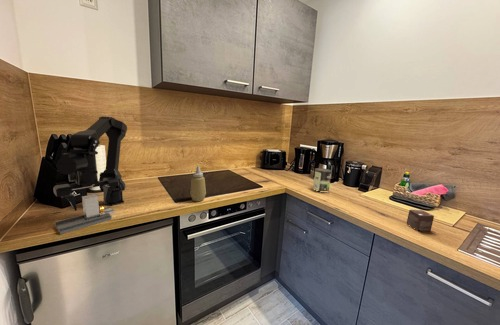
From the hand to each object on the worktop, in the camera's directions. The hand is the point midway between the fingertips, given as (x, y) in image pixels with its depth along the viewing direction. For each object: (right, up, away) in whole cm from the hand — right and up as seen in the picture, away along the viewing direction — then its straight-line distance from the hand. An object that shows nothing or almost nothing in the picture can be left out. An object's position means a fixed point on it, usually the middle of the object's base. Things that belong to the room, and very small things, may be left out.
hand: (91, 206), depth 76 cm
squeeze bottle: (+35, -3, +27) cm, 44 cm away
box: (+136, -12, +10) cm, 136 cm away
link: (+1, -4, +3) cm, 5 cm away
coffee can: (+109, -1, +55) cm, 122 cm away
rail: (-2, -6, -1) cm, 6 cm away
